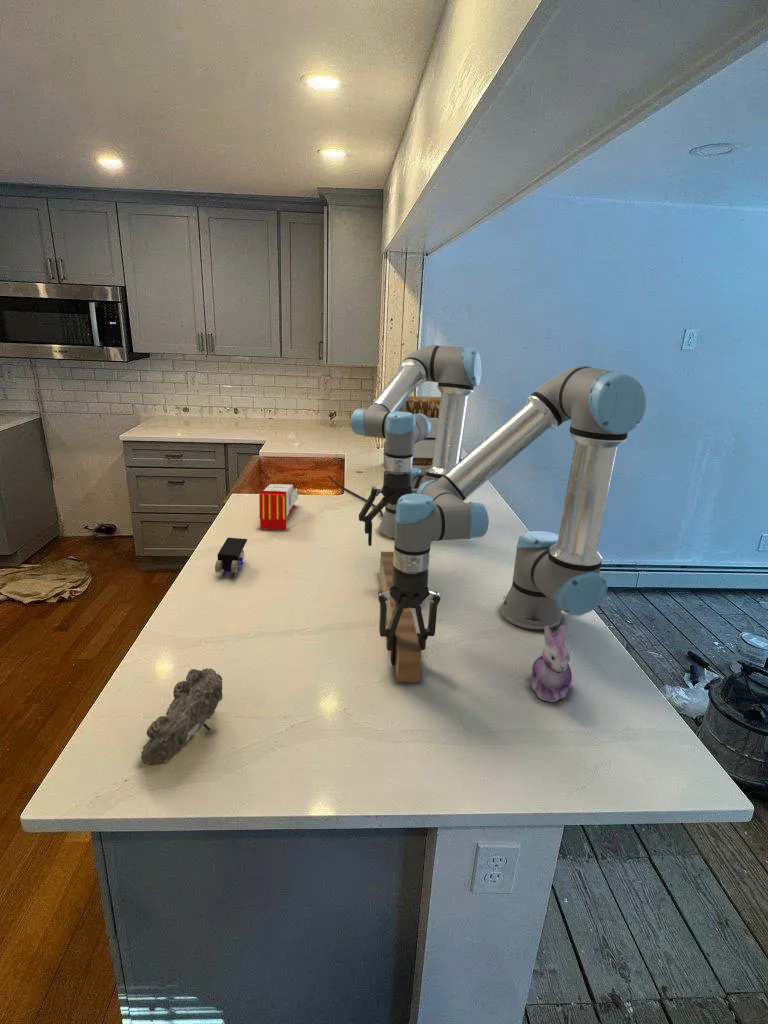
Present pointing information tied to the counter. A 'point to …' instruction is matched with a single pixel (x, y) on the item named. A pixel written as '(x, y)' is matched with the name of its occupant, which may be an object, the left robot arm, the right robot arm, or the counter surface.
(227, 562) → the black toy car
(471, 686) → the counter surface
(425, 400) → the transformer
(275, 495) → the toy
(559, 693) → the figurine
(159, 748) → the fossil
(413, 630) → the bar
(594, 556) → the right robot arm
